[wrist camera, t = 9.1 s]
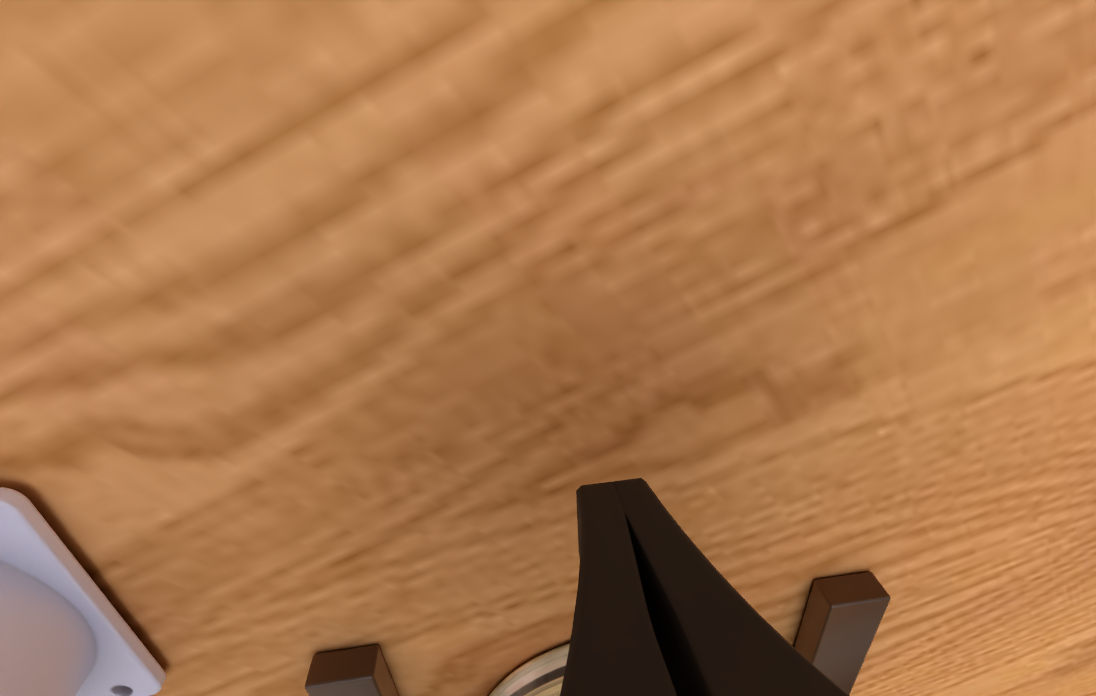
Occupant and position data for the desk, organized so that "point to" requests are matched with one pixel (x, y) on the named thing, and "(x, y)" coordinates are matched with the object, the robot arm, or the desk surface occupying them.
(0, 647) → the robot arm
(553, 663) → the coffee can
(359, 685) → the walnut frame
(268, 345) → the desk surface
